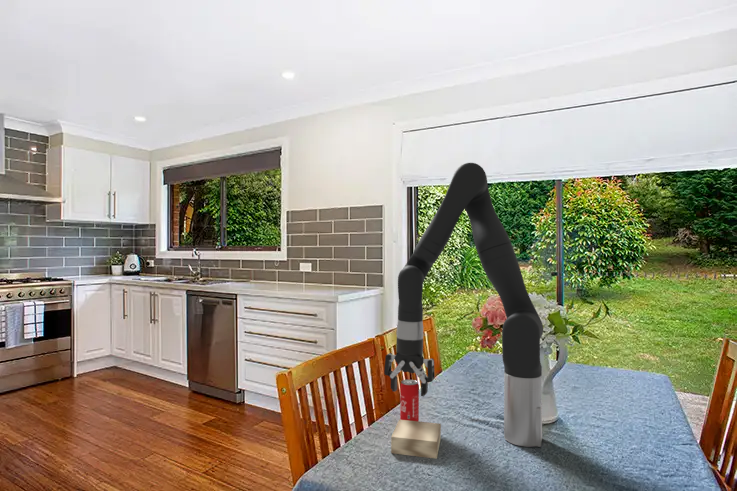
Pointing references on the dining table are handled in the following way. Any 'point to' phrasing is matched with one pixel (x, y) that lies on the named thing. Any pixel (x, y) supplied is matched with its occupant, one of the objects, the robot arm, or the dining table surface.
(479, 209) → the robot arm
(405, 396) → the beverage can
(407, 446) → the beech block
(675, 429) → the dining table surface
